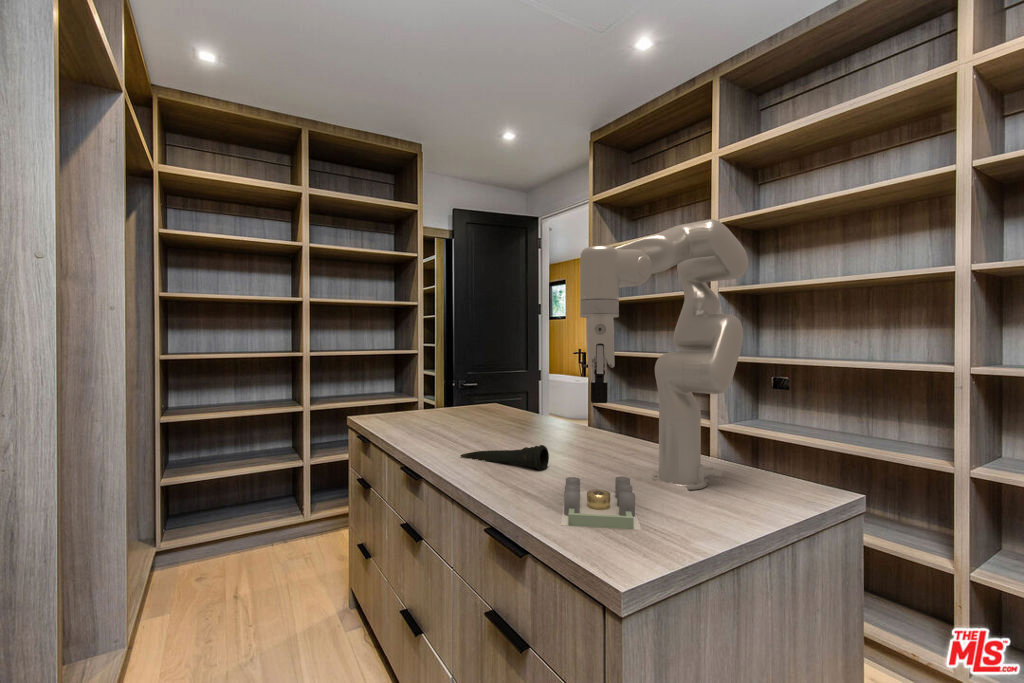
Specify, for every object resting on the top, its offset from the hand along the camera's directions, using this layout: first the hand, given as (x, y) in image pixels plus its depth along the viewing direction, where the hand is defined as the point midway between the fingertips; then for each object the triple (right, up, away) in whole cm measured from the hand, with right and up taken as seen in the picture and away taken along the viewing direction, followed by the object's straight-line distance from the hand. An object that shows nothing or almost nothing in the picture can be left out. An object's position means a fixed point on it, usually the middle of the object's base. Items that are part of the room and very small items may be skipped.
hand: (599, 402), depth 95 cm
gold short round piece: (0, -21, +1) cm, 21 cm away
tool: (-21, -22, +38) cm, 49 cm away
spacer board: (0, -22, 0) cm, 22 cm away
